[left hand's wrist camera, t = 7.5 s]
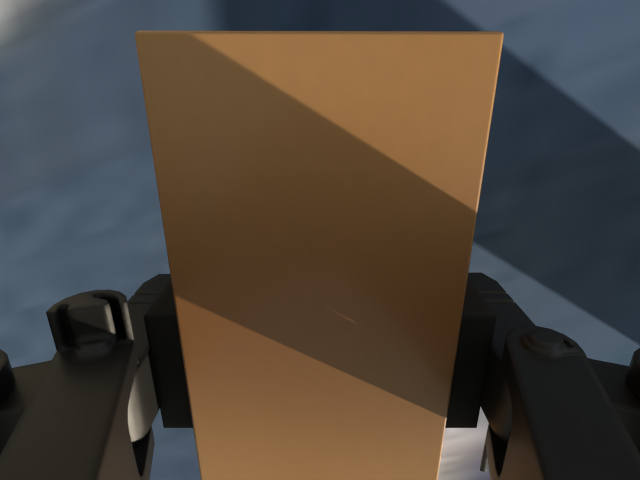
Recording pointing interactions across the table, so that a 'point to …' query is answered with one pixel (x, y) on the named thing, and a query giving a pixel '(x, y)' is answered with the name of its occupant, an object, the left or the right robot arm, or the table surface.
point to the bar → (319, 239)
